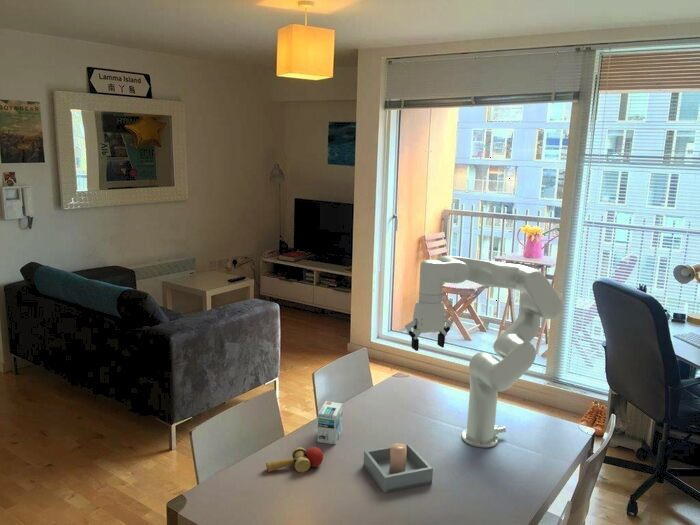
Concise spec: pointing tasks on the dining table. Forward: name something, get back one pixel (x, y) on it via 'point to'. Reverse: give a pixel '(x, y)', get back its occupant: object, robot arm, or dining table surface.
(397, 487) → the bin
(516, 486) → the dining table surface
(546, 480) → the dining table surface
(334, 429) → the light bulb box
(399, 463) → the beige rounded capsule
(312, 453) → the kendama
